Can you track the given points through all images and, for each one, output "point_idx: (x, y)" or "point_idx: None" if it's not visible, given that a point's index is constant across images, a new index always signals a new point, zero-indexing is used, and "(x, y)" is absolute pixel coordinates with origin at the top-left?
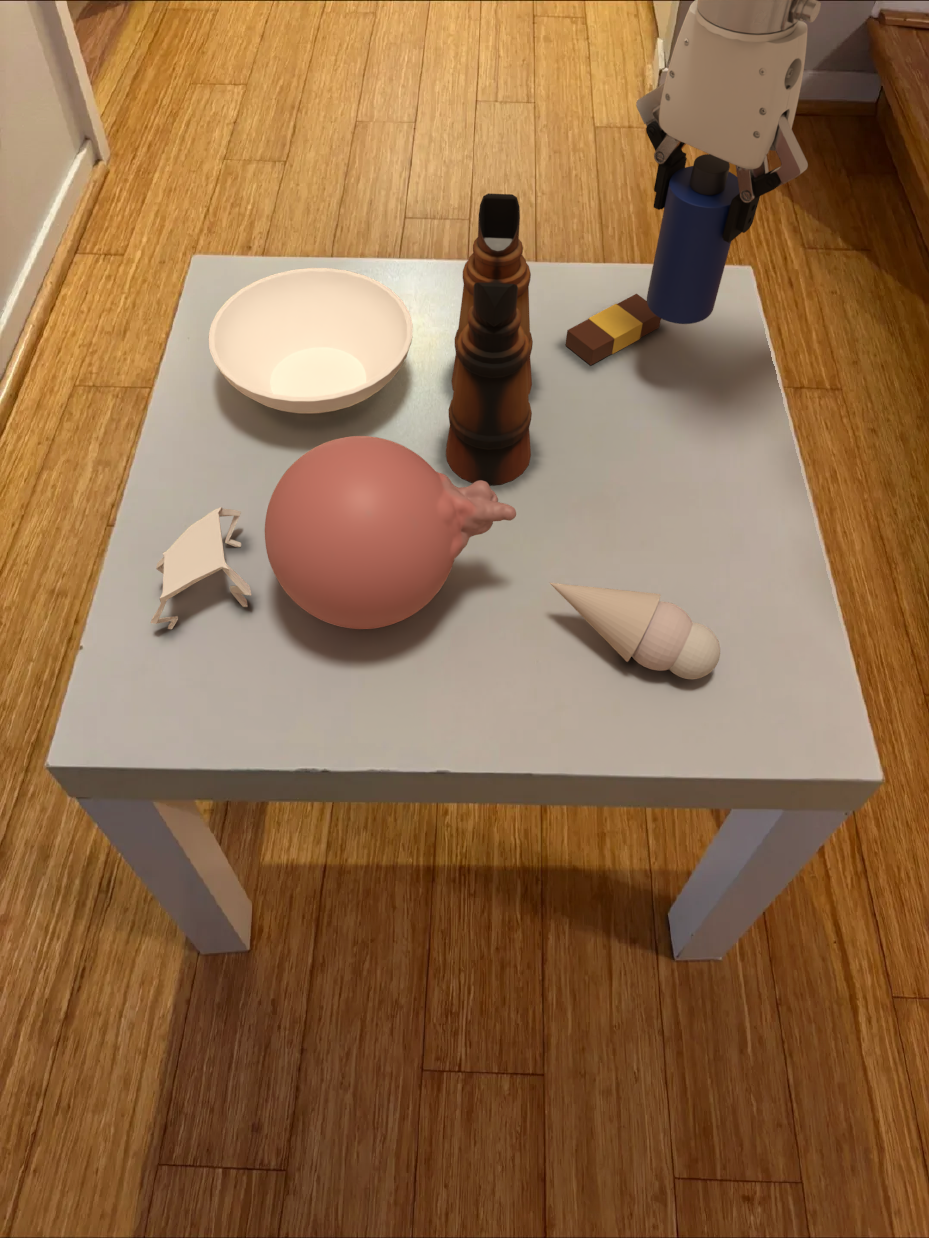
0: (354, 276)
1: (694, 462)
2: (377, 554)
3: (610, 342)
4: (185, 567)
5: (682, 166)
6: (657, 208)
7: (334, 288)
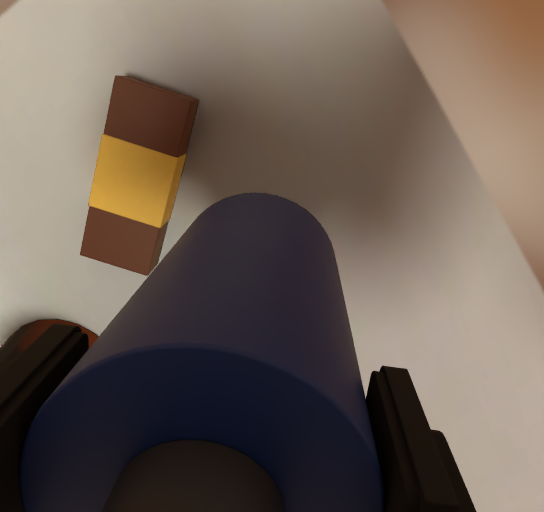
0: None
1: (399, 359)
2: None
3: (158, 235)
4: None
5: (13, 439)
6: None
7: None
